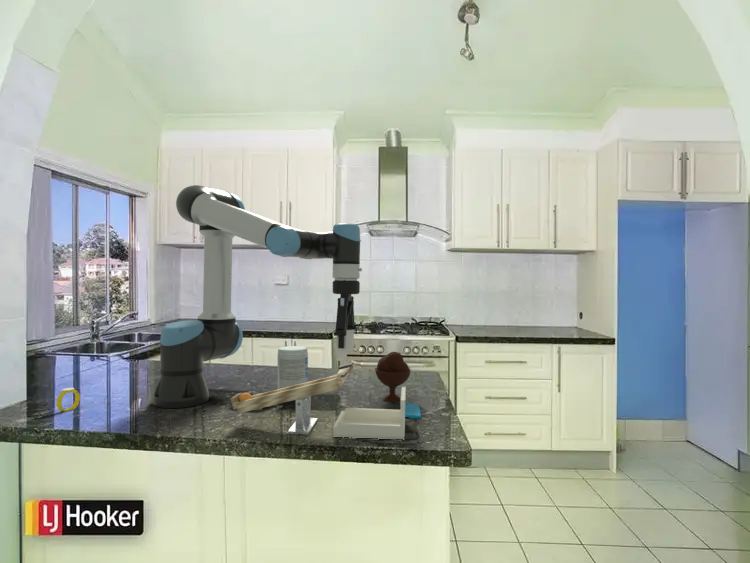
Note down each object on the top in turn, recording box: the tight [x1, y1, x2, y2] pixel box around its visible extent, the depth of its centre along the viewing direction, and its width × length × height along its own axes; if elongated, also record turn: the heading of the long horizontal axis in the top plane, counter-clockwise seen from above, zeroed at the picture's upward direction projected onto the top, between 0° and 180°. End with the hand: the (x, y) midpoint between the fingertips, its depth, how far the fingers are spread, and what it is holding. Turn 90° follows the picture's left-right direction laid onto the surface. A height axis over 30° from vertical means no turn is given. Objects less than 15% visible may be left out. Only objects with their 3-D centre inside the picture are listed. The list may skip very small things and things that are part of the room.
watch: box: [56, 387, 81, 413], centre depth 125 cm, size 6×3×6 cm, turn 165°
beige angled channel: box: [230, 361, 355, 414], centre depth 124 cm, size 28×26×4 cm
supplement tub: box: [277, 345, 309, 389], centre depth 145 cm, size 10×10×15 cm
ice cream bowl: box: [374, 351, 411, 403], centre depth 139 cm, size 11×11×15 cm
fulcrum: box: [286, 396, 319, 436], centre depth 113 cm, size 5×11×8 cm, turn 175°
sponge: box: [405, 402, 422, 419], centre depth 127 cm, size 2×12×6 cm
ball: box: [239, 392, 251, 401], centre depth 114 cm, size 3×3×3 cm
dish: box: [332, 386, 407, 441], centre depth 112 cm, size 17×13×9 cm
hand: (345, 356), depth 126 cm, fingers open, 13 cm apart
